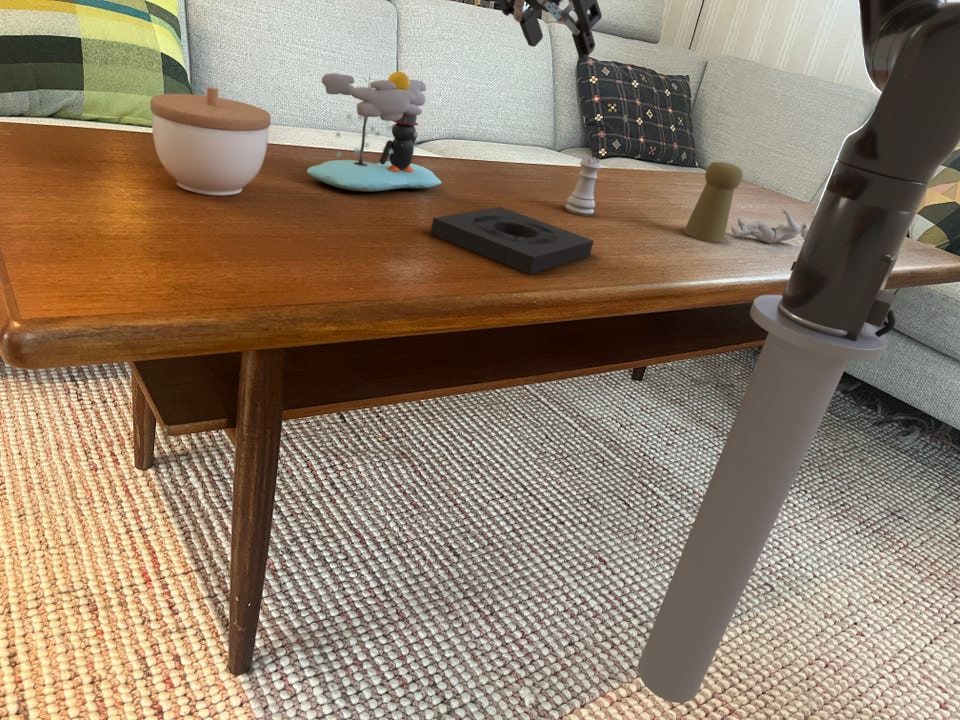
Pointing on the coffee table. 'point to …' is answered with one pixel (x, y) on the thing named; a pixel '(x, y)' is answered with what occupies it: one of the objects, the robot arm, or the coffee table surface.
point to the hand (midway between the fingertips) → (561, 48)
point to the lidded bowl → (209, 141)
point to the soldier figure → (772, 230)
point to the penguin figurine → (390, 105)
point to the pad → (512, 239)
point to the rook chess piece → (584, 188)
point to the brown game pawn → (714, 203)
